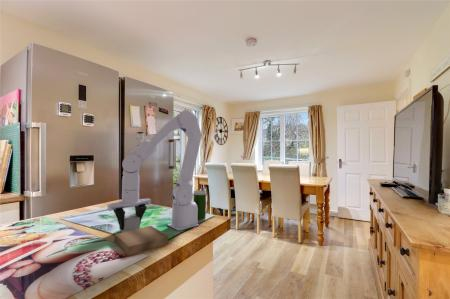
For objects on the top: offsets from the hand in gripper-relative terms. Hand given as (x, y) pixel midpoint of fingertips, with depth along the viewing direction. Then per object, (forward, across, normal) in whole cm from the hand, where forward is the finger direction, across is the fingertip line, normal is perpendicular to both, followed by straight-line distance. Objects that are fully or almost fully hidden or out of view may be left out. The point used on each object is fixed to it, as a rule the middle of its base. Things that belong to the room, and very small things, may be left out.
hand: (129, 227), depth 79 cm
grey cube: (+1, 0, 0) cm, 1 cm away
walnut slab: (+2, +1, +12) cm, 12 cm away
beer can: (+2, -27, +5) cm, 28 cm away
